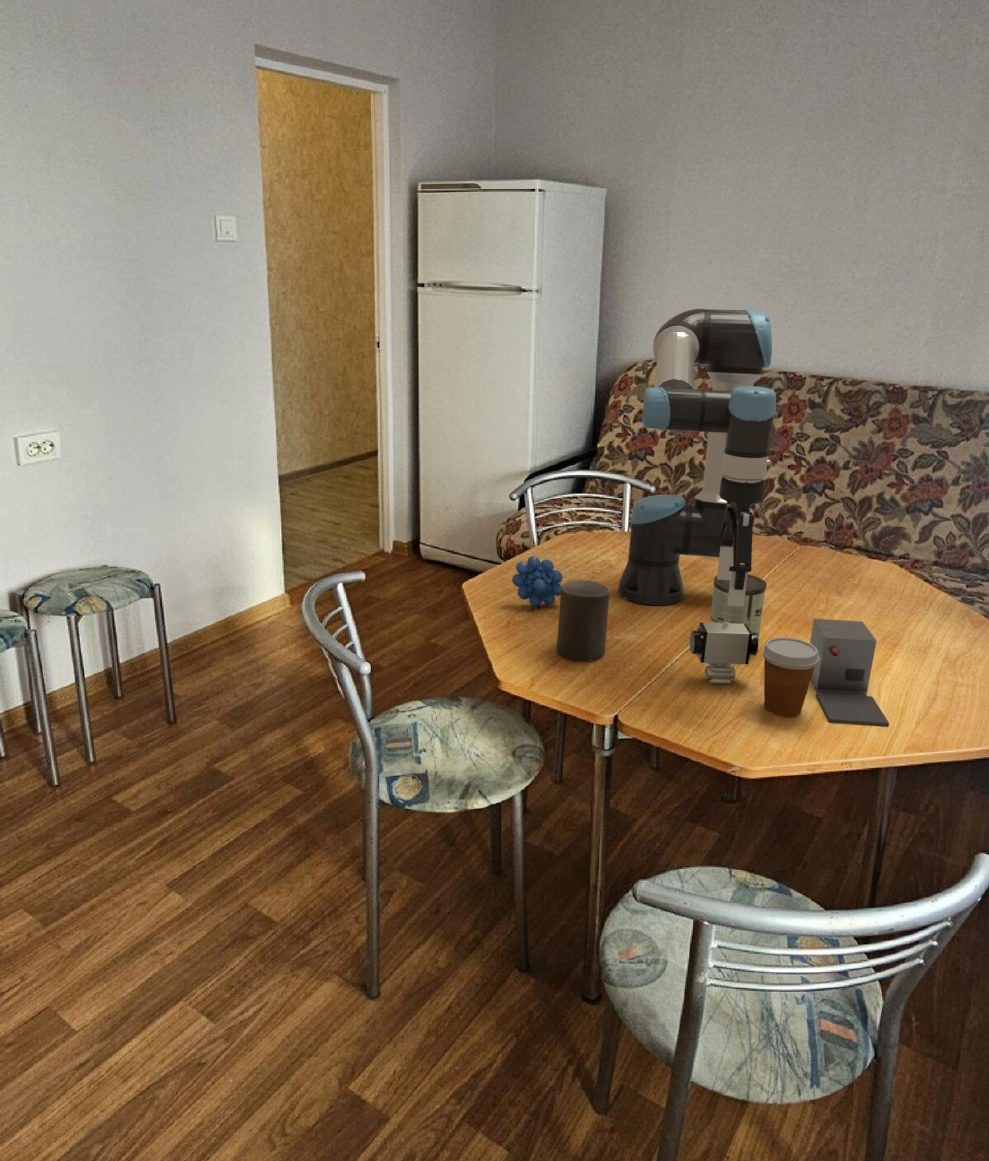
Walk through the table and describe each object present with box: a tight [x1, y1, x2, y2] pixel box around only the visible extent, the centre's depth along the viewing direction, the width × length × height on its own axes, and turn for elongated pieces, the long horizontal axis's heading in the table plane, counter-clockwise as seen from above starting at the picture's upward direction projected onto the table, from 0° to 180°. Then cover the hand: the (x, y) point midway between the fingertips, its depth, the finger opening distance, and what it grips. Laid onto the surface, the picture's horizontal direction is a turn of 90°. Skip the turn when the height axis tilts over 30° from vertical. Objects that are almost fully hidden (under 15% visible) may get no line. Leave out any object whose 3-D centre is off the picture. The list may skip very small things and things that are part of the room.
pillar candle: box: [556, 579, 611, 662], centre depth 179 cm, size 10×10×15 cm
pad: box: [815, 692, 890, 727], centre depth 161 cm, size 10×10×1 cm
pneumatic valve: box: [689, 622, 759, 685], centre depth 169 cm, size 6×12×12 cm, turn 89°
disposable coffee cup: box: [762, 637, 820, 718], centre depth 159 cm, size 10×10×12 cm
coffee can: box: [709, 573, 767, 642], centre depth 184 cm, size 10×10×14 cm
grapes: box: [511, 555, 564, 607], centre depth 201 cm, size 12×7×12 cm, turn 96°
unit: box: [809, 618, 877, 696], centre depth 169 cm, size 9×10×11 cm
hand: (729, 592), depth 165 cm, fingers open, 13 cm apart
